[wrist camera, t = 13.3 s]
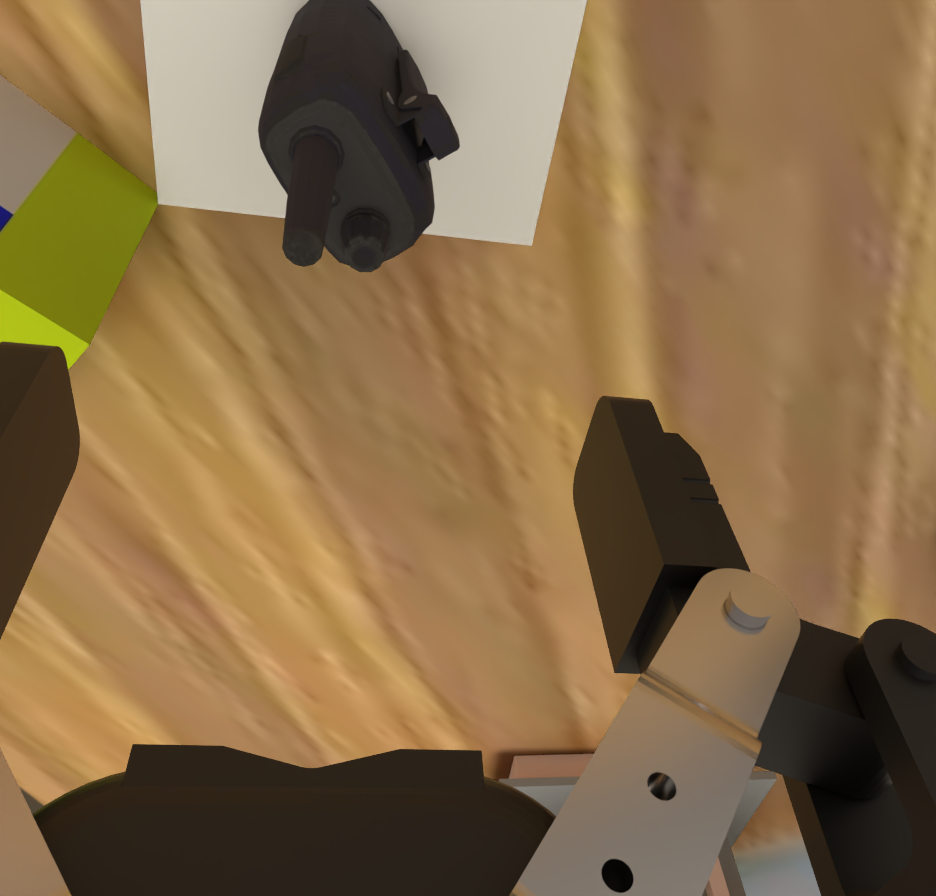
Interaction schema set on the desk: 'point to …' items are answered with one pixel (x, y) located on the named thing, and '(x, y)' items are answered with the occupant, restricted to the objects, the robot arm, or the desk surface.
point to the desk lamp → (560, 773)
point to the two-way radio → (351, 137)
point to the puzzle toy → (61, 227)
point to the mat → (444, 72)
